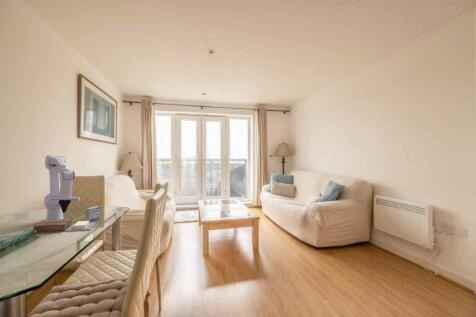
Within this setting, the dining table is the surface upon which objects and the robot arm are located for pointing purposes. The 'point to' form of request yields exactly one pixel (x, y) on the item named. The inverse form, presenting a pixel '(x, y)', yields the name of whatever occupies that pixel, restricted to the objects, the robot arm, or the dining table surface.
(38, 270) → the dining table surface
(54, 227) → the brown wooden tray
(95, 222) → the mat
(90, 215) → the medicine box
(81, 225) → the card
